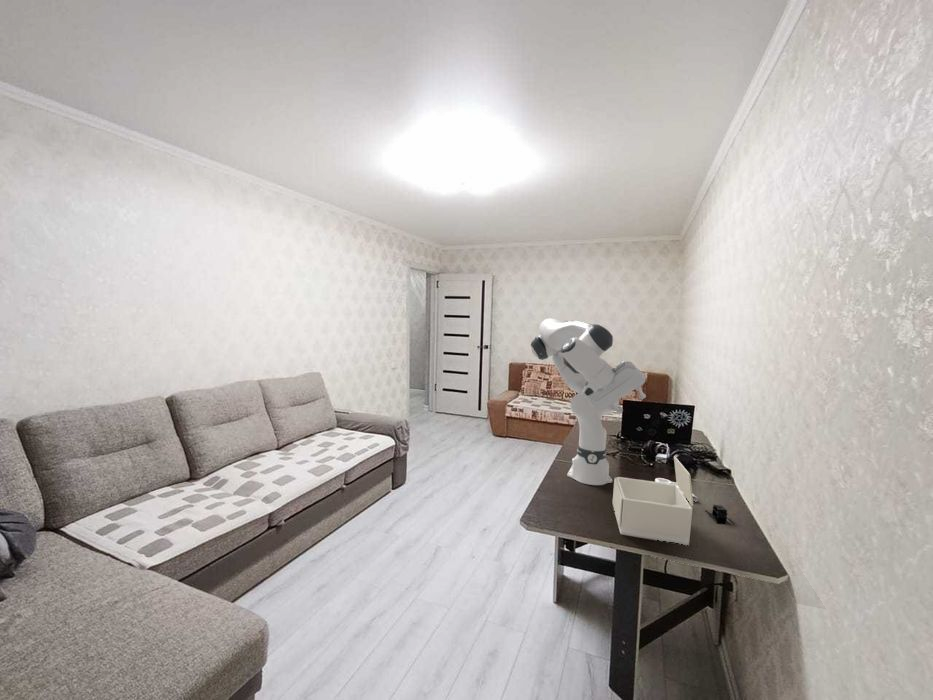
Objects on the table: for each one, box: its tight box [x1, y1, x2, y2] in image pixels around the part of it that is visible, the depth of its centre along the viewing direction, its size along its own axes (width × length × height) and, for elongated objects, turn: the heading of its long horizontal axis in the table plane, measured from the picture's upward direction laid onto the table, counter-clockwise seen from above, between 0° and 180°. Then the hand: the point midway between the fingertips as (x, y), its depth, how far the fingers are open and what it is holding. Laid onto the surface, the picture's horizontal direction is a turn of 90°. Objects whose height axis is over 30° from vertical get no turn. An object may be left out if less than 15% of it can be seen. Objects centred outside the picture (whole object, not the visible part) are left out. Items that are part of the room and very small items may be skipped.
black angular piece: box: [706, 504, 734, 527], centre depth 141 cm, size 12×7×5 cm, turn 171°
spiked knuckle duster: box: [654, 477, 699, 503], centre depth 160 cm, size 3×18×15 cm
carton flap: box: [673, 456, 694, 507], centre depth 130 cm, size 17×10×1 cm
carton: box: [612, 476, 693, 547], centre depth 133 cm, size 19×21×12 cm
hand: (632, 404), depth 131 cm, fingers open, 8 cm apart
